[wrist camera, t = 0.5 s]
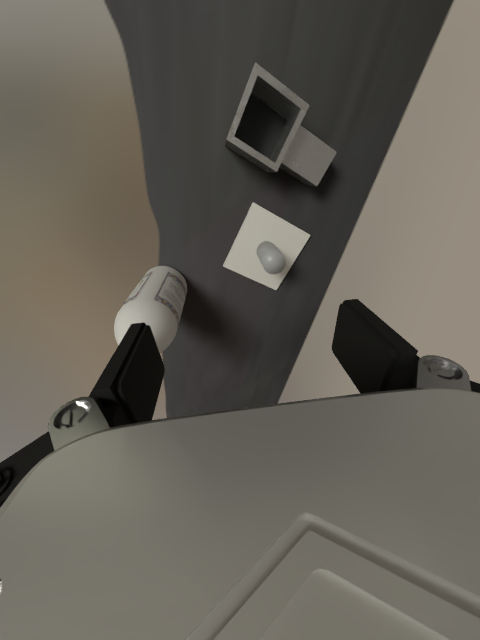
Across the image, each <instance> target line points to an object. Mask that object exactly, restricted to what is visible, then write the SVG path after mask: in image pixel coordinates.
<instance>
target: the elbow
mask: <svg viewBox="0 0 480 640" xmlns="http://www.w3.org/2000/svg"><path fill="white" fill-rule="evenodd" d="M250 94H252V95H253V96H254V97H256V98H257V99H258V100H260V101H261V102H262V103H264V104H265V105H267V106H268V107H269V108H271V109H272V110H273V111H275V112H276V113H277V114H279V115H280V116H281V117H283V118H284V119H285V120H287V121H286V123H285V125H284V127H283V129H282V132H281V134H280V136H279V138H278V140H277V142H276V145H275V147H274V149H273V151H272V153H271V155H270V158H269V159H268V158H267V157H265V156H264V155H262V154H260V153H259V152H257V151H256V150H254V149H253V148H251V147H250V146H248V145H247V144H245V143H244V142H242V141H241V140H239V139H238V138H236V137H235V136H234V135H235V133H236V130H237V128H238V125H239V122H240V120H241V117H242V115H243V112H244V110H245V107H246V104H247V102H248V99H249V97H250ZM308 107H309V105H308V104H307V103H306V102H305V101H303V100H302V99H301V98H300V97H298V96H297V95H296V94H295V93H293V92H292V91H291V90H290V89H288V88H287V87H286V86H285V85H283V84H282V83H281V82H279V81H278V80H277V79H276V78H274V77H273V76H272V75H271V74H269V73H268V72H267V71H266V70H264V69H263V68H262V67H261V66H259V65H258V64H257V63H256V62H255V64H254V67H253V70H252V72H251V75H250V78H249V80H248V83H247V86H246V88H245V91H244V94H243V96H242V99H241V102H240V104H239V107H238V110H237V112H236V115H235V118H234V121H233V123H232V126H231V129H230V131H229V134H228V137H227V139H226V143H225V146H226V147H228V148H229V149H231V150H232V151H234V152H236V153H237V154H239V155H240V156H242V157H243V158H245V159H247V160H248V161H250V162H251V163H253V164H254V165H256V166H258V167H259V168H261V169H262V170H264V171H266V172H267V173H271V172H277V171H278V169H279V168H281V169H282V170H284V171H285V172H287V173H288V174H290V175H291V176H293V177H294V178H296V179H298V180H299V181H301V182H302V183H304V184H305V185H307V186H318V184H319V182H320V181H321V179H322V177H323V175H324V174H325V172H326V170H327V168H328V167H329V165H330V163H331V162H332V160H333V158H334V156H335V155H336V153H337V152H336V151H334V150H333V149H332V148H330V147H329V146H328V145H326V144H325V143H324V142H322V141H321V140H320V139H318V138H317V137H316V136H314V135H313V134H312V133H310V132H309V131H308V130H306V129H305V128H304V127H302V126H301V125H300V124H301V122H302V120H303V118H304V116H305V114H306V112H307V109H308Z"/></svg>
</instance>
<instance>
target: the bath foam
mask: <svg viewBox="0 0 480 640" xmlns="http://www.w3.org/2000/svg"><path fill="white" fill-rule="evenodd" d="M186 294H187V284H186V281H185V279H184V277H183V276H182V275H181V274H180V273H179V272H178V271H177V270H175V269H173V268H171V267H167V266H158V267H154V268H152V269H151V270H149V271H148V272H147V273H146V274H145V276H144V277H143V278H142V280H141V281H140V282H139V284H138V285H137V286H136V288H135V289H134V290H133V292H132V293H131V295H130V296H129V297H128V299H127V300H126V301H125V303H124V304H123V306H122V307H121V308H120V310H119V312H118V314H117V316H116V320H115V324H114V333H115V338H116V341H117V343H118V345H119V344H120V342H121V341H122V339H123V337H124V335H125V334H126V332H127V330H128V329H129V327H130V325H131V324H135V323H145V324H146V325H149V326H150V327H151V330H152V333H153V336H154V339H155V341H156V344H157V347H158V350H159V353H161V352H162V351H164V350H165V349H166V348H167V347H168V346H169V345H170V344H171V342H172V341H173V339H174V337H175V335H176V333H177V330H178V326H179V322H180V318H181V314H182V310H183V306H184V302H185V298H186Z"/></svg>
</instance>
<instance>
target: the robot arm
mask: <svg viewBox="0 0 480 640" xmlns="http://www.w3.org/2000/svg"><path fill="white" fill-rule="evenodd" d="M332 351H333V353H334V355H335V356H336V358H337V359H338V360H339V362H340V364H341V365H342V367H343V368H344V370H345V371H346V372H347V374H348V375H349V377H350V378H351V380H352V381H353V383H354V384H355V386H356V387H357V389H358V390H359V392H360V393H361V394H353V395H345V396H337V397H329V398H320V399H312V400H304V401H297V402H287V403H279V404H271V405H264V406H256V407H248V408H240V409H232V410H225V411H217V412H209V413H202V414H194V415H187V416H179V417H172V418H165V419H158V420H152V417H153V414H154V410H155V406H156V402H157V399H158V395H159V391H160V387H161V384H162V380H163V376H164V364H163V362H162V359H161V356H160V353H159V350H158V347H157V344H156V341H155V339H154V336H153V333H152V330H151V327H150V326H149V325H146V324H145V323H135V324H131V325H130V327H129V329H128V330H127V332H126V334H125V335H124V337H123V339H122V341H121V342H120V344H119V346H118V348H117V349H116V351H115V353H114V354H113V356H112V358H111V359H110V361H109V363H108V364H107V366H106V368H105V369H104V371H103V373H102V375H101V376H100V378H99V380H98V381H97V383H96V385H95V387H94V388H93V390H92V392H91V393H90V395H89V397H80V398H77V399H74V400H72V401H70V402H68V403H66V404H65V405H63V406H61V407H60V408H59V409H58V410H57V411H56V412H55V413H54V414H53V416H52V417H51V418H50V421H49V423H48V430H49V432H47V433H46V434H44V435H42V436H41V437H39V438H38V439H36V440H35V441H33V442H32V443H30V444H29V445H27V446H25V447H24V448H22V449H21V450H19V451H18V452H16V453H15V454H13V455H12V456H10V457H9V458H7V459H6V460H4V461H2V462H1V463H0V640H480V384H479V383H475V382H472V381H470V380H469V375H468V373H467V371H466V370H465V369H464V368H463V367H462V366H460V365H459V364H457V363H456V362H454V361H452V360H450V359H447V358H444V357H440V356H435V355H427V356H423V357H421V358H419V357H418V356H417V355H416V354H417V352H418V351H417V350H416V349H415V348H414V347H413V346H411V345H410V344H409V343H408V342H407V341H406V340H405V339H403V338H402V337H401V336H400V335H399V334H398V333H396V332H395V331H394V330H393V329H392V328H390V327H389V326H388V325H387V324H386V323H385V322H384V321H382V320H381V319H380V318H379V317H378V316H377V315H375V314H374V313H373V312H372V311H371V310H369V309H368V308H367V307H366V306H365V305H364V304H363V303H361V302H360V301H359V300H358V299H353V300H345V301H344V302H343V304H340V306H339V311H338V316H337V322H336V327H335V333H334V338H333V343H332Z"/></svg>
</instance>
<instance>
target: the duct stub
mask: <svg viewBox="0 0 480 640" xmlns="http://www.w3.org/2000/svg"><path fill="white" fill-rule="evenodd" d="M310 236H311V235H309V234H308V233H306V232H304V231H302V230H301V229H299V228H297V227H295V226H294V225H292V224H290V223H288V222H287V221H285V220H283V219H281V218H280V217H278V216H276V215H274V214H273V213H271V212H269V211H267V210H266V209H264V208H262V207H260V206H259V205H257V204H255V203H252V205H251V207H250V209H249V211H248V213H247V216H246V218H245V220H244V222H243V224H242V226H241V228H240V230H239V233H238V235H237V237H236V239H235V241H234V243H233V245H232V247H231V250H230V252H229V254H228V256H227V258H226V260H225V262H224V264H223V267H226V268H228V269H230V270H232V271H235V272H237V273H239V274H241V275H243V276H246V277H248V278H250V279H252V280H254V281H257V282H259V283H261V284H263V285H266V286H268V287H270V288H272V289H274V290H277V289H278V287H279V285H280V284H281V282H282V281H283V279H284V277H285V276H286V274H287V273H288V271H289V269H290V268H291V266H292V265H293V263H294V261H295V260H296V258H297V257H298V255H299V253H300V252H301V250H302V249H303V247H304V245H305V244H306V242H307V241H308V239H309V237H310Z"/></svg>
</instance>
